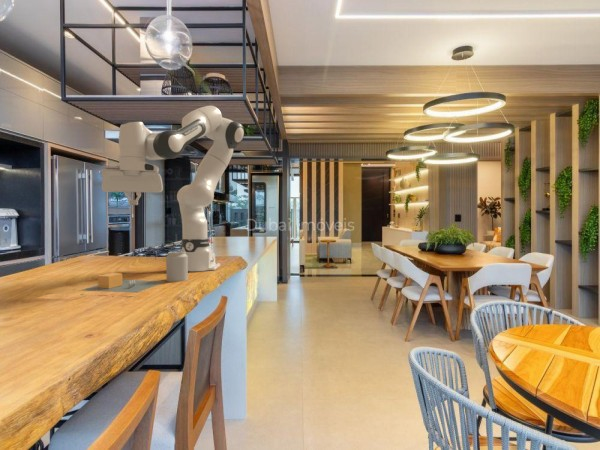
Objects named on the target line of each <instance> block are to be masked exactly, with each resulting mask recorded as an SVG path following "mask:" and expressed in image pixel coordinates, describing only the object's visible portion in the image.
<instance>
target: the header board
mask: <svg viewBox="0 0 600 450" xmlns="http://www.w3.org/2000/svg"><path fill="white" fill-rule="evenodd" d="M166 282H167V283H168V281H167V280H165V281H164V280H143V279H142V280H138V279H122V285H121V286H117V287H113V288H109V289H108V288H98V284H97V285H93V286H91V287H87V288H83V289H82V291H89V292H90V291H91V292H92V291H93V292H114V293H115V292H116V293H117V292H118V293H140V292H142V291H145V290H148V289H151V288H153V287H156V286H159V285H161V284H164V283H166ZM80 296H83V294H80ZM98 296H102V297H103V296H106V297H107V295H103V294H102V295H98ZM123 297H128V298H131V297H132V296H127V295H125V296H123Z"/></svg>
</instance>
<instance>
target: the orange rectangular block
mask: <svg viewBox="0 0 600 450" xmlns="http://www.w3.org/2000/svg"><path fill="white" fill-rule="evenodd" d="M122 280H123V273H119V272H117V273H116V272H110V273H106V274H100V275H97V285H98V288H108V289H109V288H113V287H117V286H121V285H122Z"/></svg>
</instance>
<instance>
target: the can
mask: <svg viewBox="0 0 600 450" xmlns="http://www.w3.org/2000/svg"><path fill="white" fill-rule="evenodd" d="M167 253H168V254H167V255H166V259H165V260H166V261H165V262H166V266H165V267H166V269H165V270H166V271H165V272H166V281H167V282H173V283H174V282H175V283H177V282H185V281H188V280H189V276H188V275H189V273H188V272H189V271H188V256H187V255H186V254H185V253H186V252H185V251H180V250H177V251H176V250H175V251H168V252H167Z"/></svg>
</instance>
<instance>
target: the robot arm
mask: <svg viewBox="0 0 600 450" xmlns="http://www.w3.org/2000/svg"><path fill="white" fill-rule="evenodd" d="M222 115H223V114H222V111H220V109H219V108H218V107H216V106H215V105H206V106H202V107H199V108H196V109H194V110H192V111H190V112H188V113H186V115H185V116H183V117H182V119H181V127H180V128H179V129H176V130H171V129H170V130H168V129H167V130H165V131H160V132H156V133H155V132H154V131H152V130H150V129H149V128H148V127H146V126H145V124H144V122H143V121H139V120H131V121H125V122H123V123H122V124H120V127H119V132H118V147H119V151H120V152H119V156H118V164H119V165H105V166H104V167H102V168H101V170H100V175H101V177H102V180H101V190H102V191H103V192H104V193H124V195H125V197H126V199H127V200H128V206H139V200H140V198H141V197H142V193H162V192H163V190H164V185H163V179H162V176H161V174H160V173H159V172H160V168H159V166H157V165H156V164H153V163H150V162H147V160H149V161H159V160H170V159H171V160H172V159H176V158H178V157H180V156H181V154H182V153H183V151H184V150H185V148H186V147H188V145H190V144H191V143H193V142H194V141H196V140H198V139H201V138H203V137H204V138H206V139H210V140H211V141H213V144H212V145H211V147H210V148H209V149H208V150H207V152H206V153H205V155H204V157H203V158H202V160H201V162H200V163H199V165H198V167H197V168H196V171H195V172H196V173H195V175H194V178H193V180H192V182H191V183H190V184H186V185H184V186H182V187H181V188H180V189H179V190H178V191H177V195H176V199H177V202H178V204H179V212H180V216H181V222H182V224H181V225H182V226H181V228H182V239H181V243H180V244H181V247H182V248H181V249H180V250H179V251H185V252H186V253H185V254H186V255H187V256H188V272H206V271H215V270H217V269H218V268H220V266H221V263H220V262H219V263H216V253H214V251H213V250H212V248H211V247H210V243H212V239H211V238H208V220H207V218H206V215H205V210H204V208H206V207H207V206H209V205H211V203H213V201H214V197H215V195H214V194H215V191H216V188H217V185H218V183H219V181H220V179H221V177H222V176H223V174H224V172H225V170H226V169H227V167H228V166H229V164H230V161H231V159H232V157H233V153H234V149H235V148H237V146H239V145H240V144H241V143H242V141H243V140H244V138H245V129H244V126H243V124H241V123H240V122H238V121H236V120H235V121H234V120H232V119H229V118H226V117H223V116H222ZM131 193H136V195H135V196H136V198H135V199H131V197H130V196H131Z"/></svg>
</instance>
